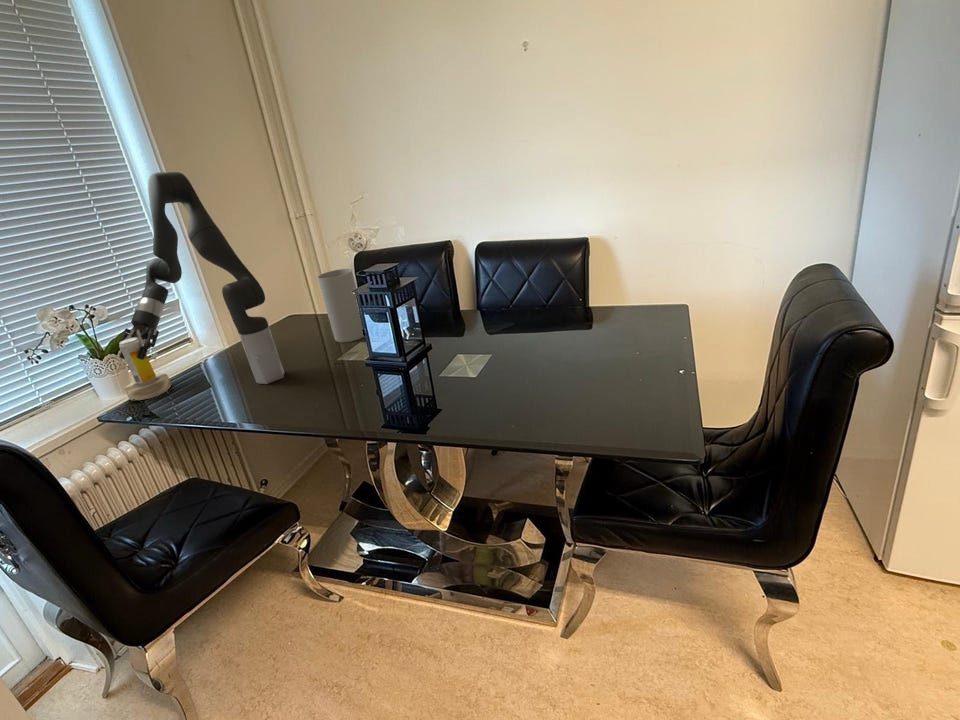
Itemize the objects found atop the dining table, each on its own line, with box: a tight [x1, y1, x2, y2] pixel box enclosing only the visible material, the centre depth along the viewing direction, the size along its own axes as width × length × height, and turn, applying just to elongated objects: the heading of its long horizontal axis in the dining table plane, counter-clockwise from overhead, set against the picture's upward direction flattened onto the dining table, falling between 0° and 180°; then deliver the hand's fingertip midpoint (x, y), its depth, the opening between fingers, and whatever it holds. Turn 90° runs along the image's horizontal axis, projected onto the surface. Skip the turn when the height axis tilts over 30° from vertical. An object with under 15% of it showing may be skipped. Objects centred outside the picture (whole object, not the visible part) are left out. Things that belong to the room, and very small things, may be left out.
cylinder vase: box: [316, 268, 365, 344], centre depth 194 cm, size 12×12×25 cm
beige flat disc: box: [124, 373, 173, 401], centre depth 176 cm, size 13×13×4 cm
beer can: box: [118, 338, 156, 385], centre depth 173 cm, size 6×6×15 cm
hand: (131, 358), depth 171 cm, fingers open, 8 cm apart
